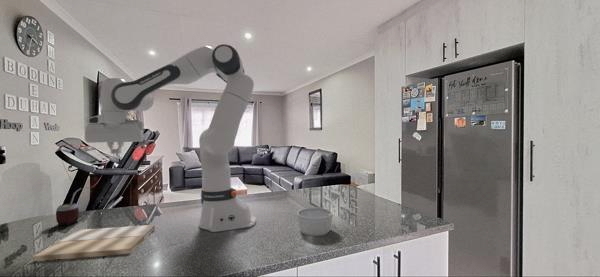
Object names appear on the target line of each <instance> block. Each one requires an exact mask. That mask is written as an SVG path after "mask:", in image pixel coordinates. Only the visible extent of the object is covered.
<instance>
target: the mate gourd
mask: <svg viewBox="0 0 600 277" xmlns="http://www.w3.org/2000/svg"><path fill="white" fill-rule="evenodd" d="M81 189H82V187H80V188H79V189H77V190H76V191H75V192H74V193H73V194H72V198H71V200H70V202H69V203H64V204H60V205H59V206H57V208H56V210H55V218H56V219H55V220H56V223H57V227H63V226H64V227H65V226H66V227H71V226H70V225H74V224H78V223H79V221H78V219H79V213H80V209H79V206H78V204H76V203H73V202H74V199H75V196H76V194H77V193H78V192H79V191H80V190H81Z"/></svg>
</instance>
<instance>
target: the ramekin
mask: <svg viewBox="0 0 600 277" xmlns="http://www.w3.org/2000/svg"><path fill="white" fill-rule="evenodd" d="M296 217H297V221H298V227H299V230H300V232H301V233H303V235H306V236H310V237H320V236H325V235H327V234H328V233H329V232H330V231H331V228H332V220H333V219H332V218H333V212H332V211H331V210H330V209H327V208H325V207H306V208H302V209H299V210H298V211H297V212H296Z"/></svg>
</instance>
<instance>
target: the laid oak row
mask: <svg viewBox="0 0 600 277" xmlns="http://www.w3.org/2000/svg"><path fill="white" fill-rule="evenodd" d="M144 241H145V240H144V236H136V237H122V238H109V239H95V240H81V241H68V242H59V241H57V242H56V243H54V244H52V245H50V246H48V247H47V248H45V249H43V250H42V251H40V252H38V253H36V254H34V255H33V256H32V262H34V263H35V261H37V262H45V260H49V261H58V260H57V259H61V260H71V259H81V258H95V257H96V258H97V257H107V256H108V257H109V256H118V255H130V254H132V253H133V252H134V251H135V250H136V249H137V248H138V247H139V246H140V245H141V244H142V243H143V242H144ZM55 259H56V260H55Z"/></svg>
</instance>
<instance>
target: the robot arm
mask: <svg viewBox="0 0 600 277" xmlns="http://www.w3.org/2000/svg"><path fill="white" fill-rule="evenodd" d="M211 73H215V74H216V76H217V77H218V78H220V79H221V80H222V81H223V82H224V83H226V85H225V86H224V89H223V92H222V94H221V96H220V98H219V100H218V102H217V105H216V107H215V109H214V112H213V115H212V118H211V120H210V124H209V126H208V128H206V129H204V130H203V131H202V133H201V134H200V136H199V141H198V142H199V143H198V145H199V157H200V165H201V166H200V167H201V183H202V184H201V185H202V186H201V187H202V188H201V192H200V203H201V211H200V212H201V213H200V218H199V223H198V227H199V228H200V229H203V230H206V231H209V232H211V233H216V232H217V233H218V232H223V231H224V232H225V231H230V230H231V231H232V230H237V229H239V230H240V229H245V228H251V227H253V226H254V225H255V224H256V222H257V218H256V216H255V215H254V214H252V213H251V209H250V207H249V205H248V204H247V203H246V202H244V201H243V200H241V199H240V198H239V197H237V193H238V192H237V189H236V188H233V187H232V183H231V182H232V181H231V180H232V178H231V177H232V176H231V174H232V173H231V172H232V171H231V167H230V166H231V165H230V162H229V161H230V160H229V156H228V154H229V153H230V152H232V150H233V149H234V147H235V142H236V141H235V140H236V138H237V134H238V130H239V128H240V123H241V120H242V118H243V117H244V114H245V113H246V112H245V111H246V109H247V107H248V105H249V102H250V100H251V97H252V95H253V92H254V91H253V90H254V85H255V83H254V80H253V79H252V77H251V76H249V75H248V74H246V73H245V69H244V65H243V62H242V59H241V57H240V54H239V53H238V51H237V49H236V48H234V47H233V45H230V44H227V43H226V44H225V43H224V44H223V43H222V44H218V45H217V46H216V47H215V48H213V47H211V46H209V45H203V46H201V47H200V46H199V47H198V48H195V49H193V50H191V51H188V52H187V53H185V54H184V55H181V56H180V57H178V58H177V59H175V60H173V61H171V62H169V63H168V64H166V65H164V66H162V67H160V68H158V69H156V70H153V71H152V72H149V73H147V74H146V75H144V76H141V77H140V78H137V79H135V80H133V81H126V80H125V79H123V78H114V77H113V78H106V79H105V80H103V81H102V83H101V86H100V103H101V109H100V114H98V115H94V116H91V117H88V118H86V124H87V125H86V126H85V128H84V140H85V142H86V143H90V144H91V143H107V144H106V146H107V147H108V148H109V149H110V154H113V155H114V154H121V153H122V148H123V147H124V144H125V143H130V142H131V143H134V142H135V143H139V142H143V141H144V140H145V135H144V129H143V128H144V122H143V121H142V120H141V119H139V118H138V119H137V118H136V119H130V118H129V116H128V112H129V111H134V112H146V111H148V110H150V109H151V108H152V106H153V104H154V97H153V95H152V93H154V92H156V91H158V90H160V89H161V88H164V87H166V86H168V85H189V84H192V83H195V82H197V81H199V80H201V79H202V78H203V77H206V75H209V74H211ZM115 143H117V145H118V147H117V148H115V147H114V145H115Z"/></svg>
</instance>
